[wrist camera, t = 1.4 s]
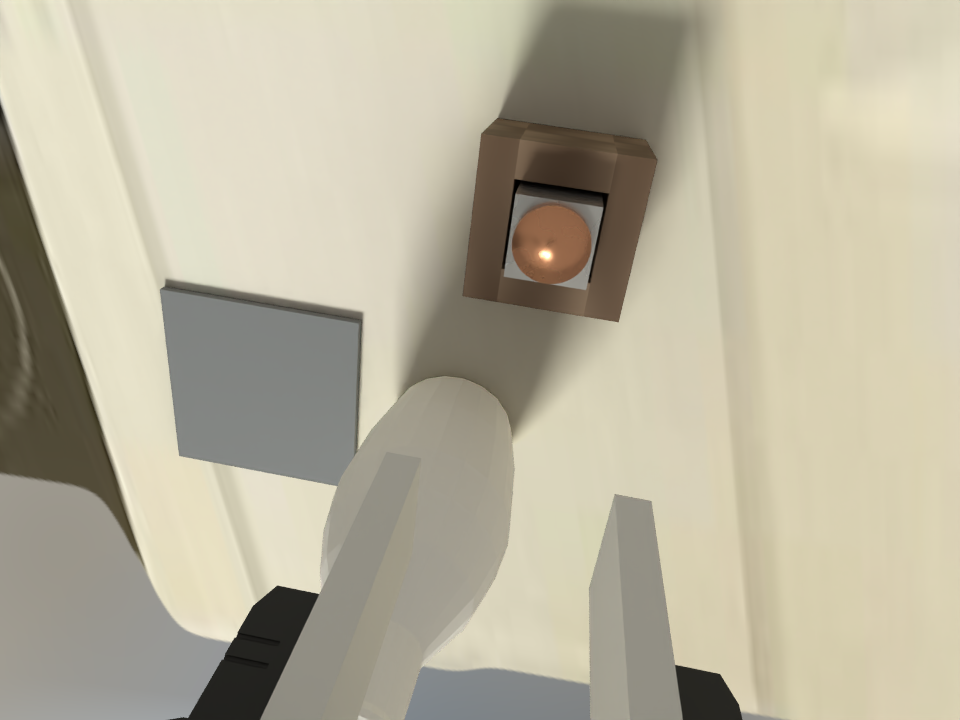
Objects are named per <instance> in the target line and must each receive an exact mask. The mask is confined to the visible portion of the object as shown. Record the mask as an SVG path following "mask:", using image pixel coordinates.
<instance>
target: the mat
mask: <svg viewBox="0 0 960 720" xmlns="http://www.w3.org/2000/svg"><path fill="white" fill-rule="evenodd" d="M160 294H161V303H162V311H163V320H164V329H165V337H166V346H167V354H168V363H169V372H170V380H171V389H172V398H173V406H174V415H175V424H176V432H177V441H178V450H179V456H183V457H188V458H193V459H198V460H204V461H209V462H214V463H219V464H225V465H230V466H235V467H240V468H245V469H251V470H256V471H261V472H266V473H272V474H277V475H282V476H287V477H293V478H298V479H303V480H308V481H314V482H319V483H324V484H329V485H334V486H338V484H339V481H340V479H341V476H342V475H343V473H344V472H345V470H346V468H347V467H348V465H349V464H350V462H351V461H352V459H353V458H354V456H355V454H356V444H357V418H358V392H359V366H360V340H361V320H357V319H351V318H345V317H339V316H333V315H328V314H322V313H316V312H310V311H304V310H298V309H293V308H287V307H281V306H275V305H269V304H263V303H258V302H252V301H246V300H240V299H234V298H228V297H223V296H217V295H211V294H205V293H199V292H194V291H188V290H182V289H176V288H170V287H163V288H161V289H160Z"/></svg>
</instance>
